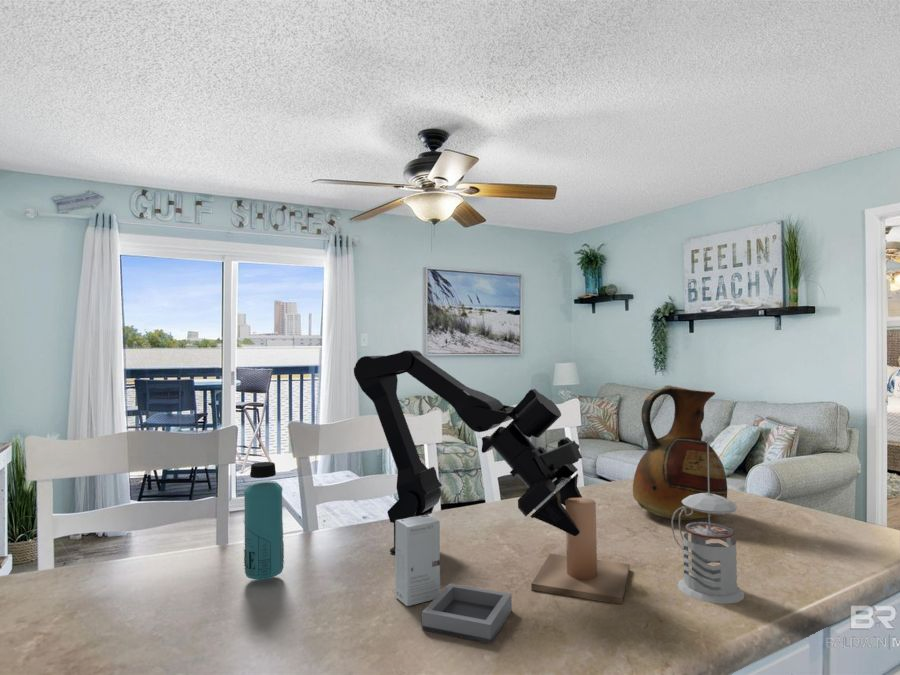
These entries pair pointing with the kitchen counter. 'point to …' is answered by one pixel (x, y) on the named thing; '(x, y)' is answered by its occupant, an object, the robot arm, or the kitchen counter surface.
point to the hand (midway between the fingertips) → (584, 525)
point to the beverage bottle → (263, 524)
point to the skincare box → (417, 559)
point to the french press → (709, 550)
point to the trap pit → (467, 613)
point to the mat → (583, 580)
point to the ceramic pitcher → (677, 458)
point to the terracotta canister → (582, 539)
